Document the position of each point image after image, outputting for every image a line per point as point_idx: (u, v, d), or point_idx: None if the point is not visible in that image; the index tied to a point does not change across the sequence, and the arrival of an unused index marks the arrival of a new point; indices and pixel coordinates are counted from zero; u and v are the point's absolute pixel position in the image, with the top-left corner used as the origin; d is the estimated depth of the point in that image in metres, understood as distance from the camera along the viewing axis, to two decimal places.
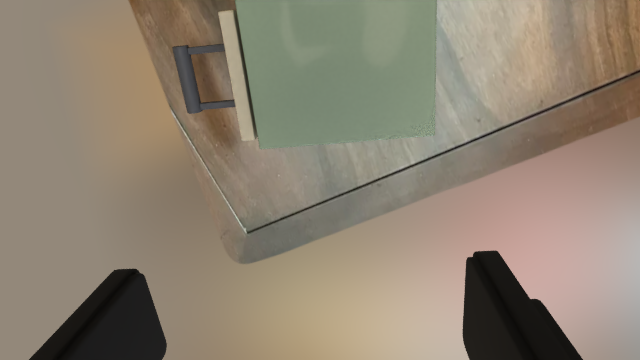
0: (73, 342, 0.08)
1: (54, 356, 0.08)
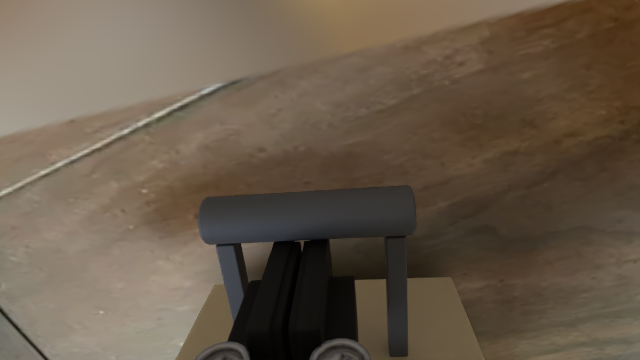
0: (280, 296, 0.09)
1: (274, 306, 0.08)
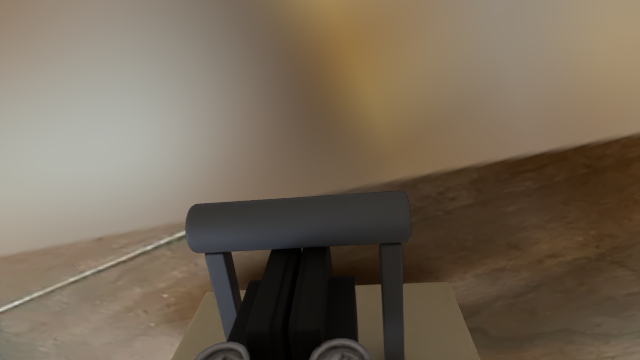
0: (280, 296, 0.09)
1: (274, 307, 0.08)
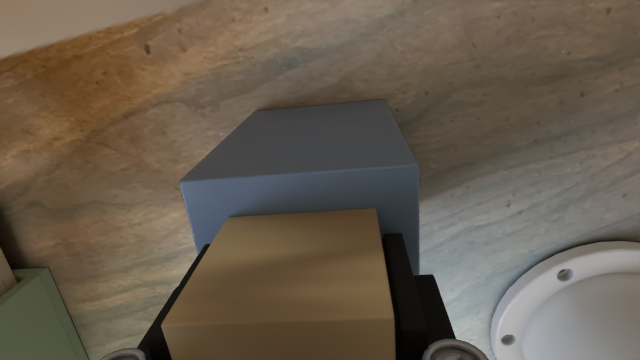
0: None
1: None
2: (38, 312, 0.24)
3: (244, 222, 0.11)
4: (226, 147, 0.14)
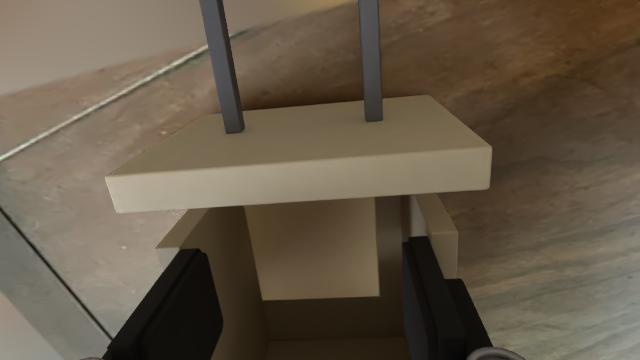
0: (160, 310, 0.09)
1: (147, 321, 0.08)
2: None
3: None
4: None
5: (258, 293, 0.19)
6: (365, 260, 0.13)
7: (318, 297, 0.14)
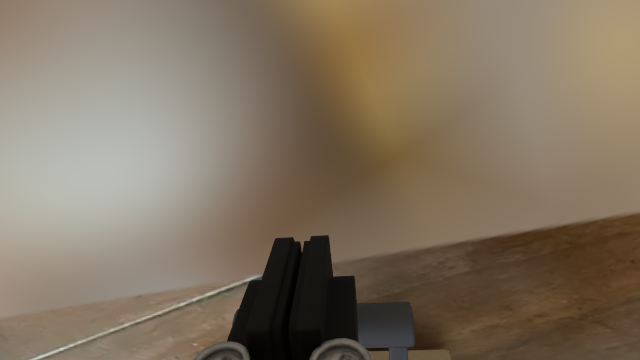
0: (280, 296, 0.09)
1: (274, 306, 0.08)
2: None
3: None
4: None
5: None
6: None
7: None
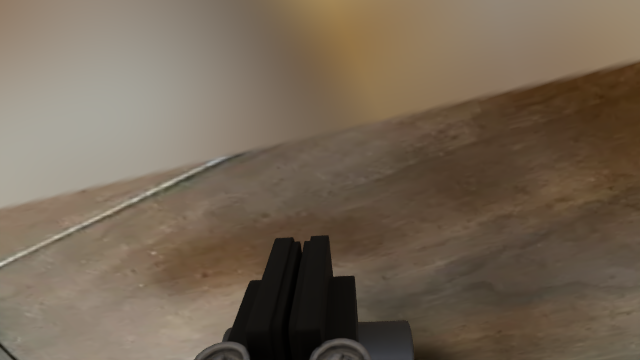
0: (280, 296, 0.09)
1: (274, 306, 0.08)
2: None
3: None
4: None
5: None
6: None
7: None
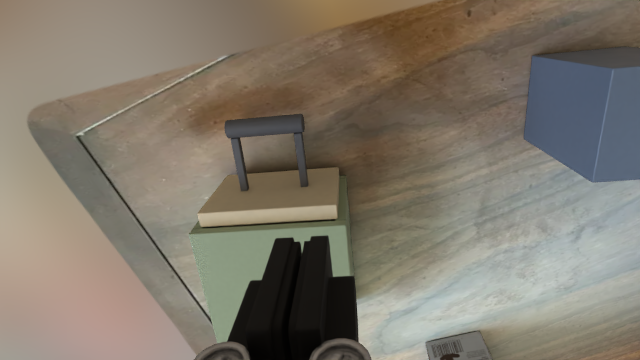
0: (280, 296, 0.09)
1: (274, 306, 0.08)
2: None
3: None
4: (588, 62, 0.24)
5: None
6: None
7: None
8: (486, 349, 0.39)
